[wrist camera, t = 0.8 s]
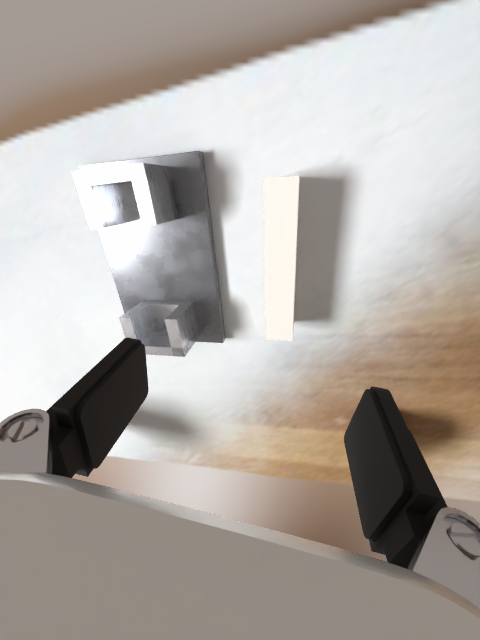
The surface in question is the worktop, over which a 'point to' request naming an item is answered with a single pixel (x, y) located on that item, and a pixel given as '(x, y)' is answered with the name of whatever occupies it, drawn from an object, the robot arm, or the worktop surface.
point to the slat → (280, 254)
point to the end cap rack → (158, 247)
